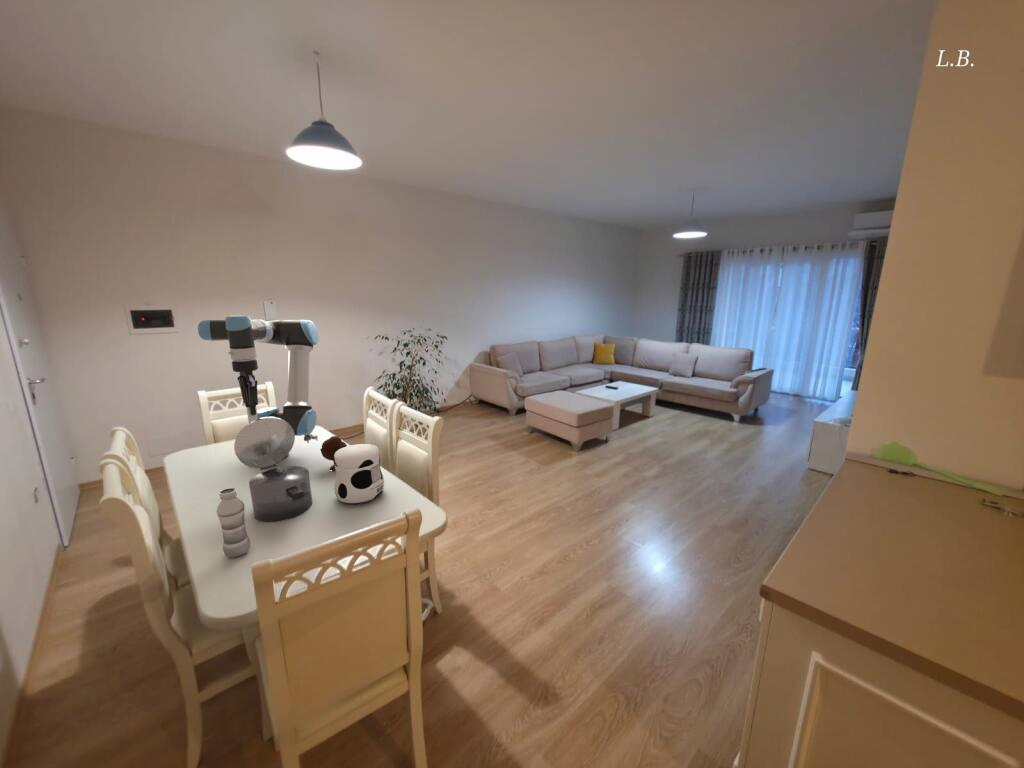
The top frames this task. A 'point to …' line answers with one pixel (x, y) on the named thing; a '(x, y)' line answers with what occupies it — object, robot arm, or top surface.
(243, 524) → the plastic bottle
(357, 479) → the milk container
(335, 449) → the brown miniature tree
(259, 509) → the pot
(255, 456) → the lid
